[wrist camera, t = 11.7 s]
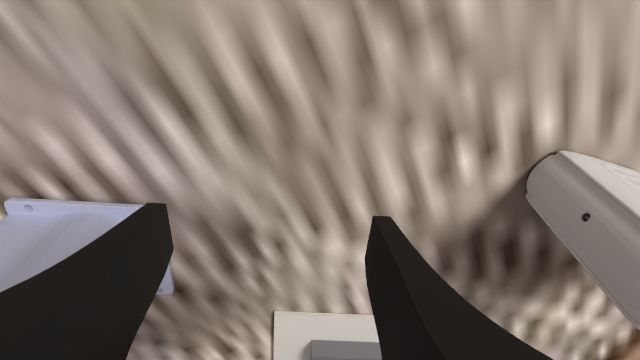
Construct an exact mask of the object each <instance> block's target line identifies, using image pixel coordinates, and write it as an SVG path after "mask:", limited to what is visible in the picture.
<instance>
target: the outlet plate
mask: <svg viewBox="0 0 640 360" xmlns="http://www.w3.org/2000/svg"><path fill="white" fill-rule="evenodd" d="M273 360H382V356H381V349H380V344H379V339H378V334H377V329H376V325H375V320H374V315H362V314H338V313H314V312H290V311H275V313H274V356H273Z"/></svg>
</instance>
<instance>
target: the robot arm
mask: <svg viewBox="0 0 640 360" xmlns="http://www.w3.org/2000/svg"><path fill="white" fill-rule="evenodd" d="M29 205H30V206H31V207H30V206H29ZM4 207H5V209H6V211H7V213H8V215H7V216H5V217H4V218H3V219H2V220H1V221H0V360H126V357H127V355H128V352H129V349H130V347H131V344H132V342H133V340H134V337H135V335H136V333H137V331H138V329H139V327H140V325H141V323H142V321H143V319H144V317H145V315H146V313H147V311H148V309H149V307H150V305H151V303H152V301H153V299H154V297H155V295H156V294H160V295H169V294H172V293H173V290H174V283H173V278H172V272H171V267H170V259H171V256H172V252H173V249H174V248H173V242H172V236H171V230H170V225H169V219H168V213H167V207H166V204H161V203H147V204H145V205H137V204H119V203H101V202H83V201H65V200H47V199H29V198H9V199H8V200H7V201H5V202H4ZM365 268H366V279H367V287H368V292H369V297H370V301H371V306H372V311H373V315H374V320H375V325H376V329H377V334H378V339H379V344H380V349H381V356H382V360H553V359H551V358H550V357H548V356H546V355H545V354H543V353H541V352H539V351H538V350H536V349H534V348H533V347H531V346H529V345H528V344H526V343H524V342H523V341H521V340H520V339H518V338H517V337H515V336H514V335H512V334H511V333H509V332H508V331H506V330H505V329H503V328H502V327H500V326H499V325H497V324H496V323H495V322H493V321H492V320H490V319H489V318H488V317H486V316H485V315H484V314H483V313H481V312H480V311H479V310H477V309H476V308H475V307H474V306H472V305H471V304H470V303H469V302H467V301H466V300H465V299H464V298H463V297H462V296H460V295H459V294H458V293H457V292H456V291H455V290H454V289H453V288H452V287H450V286H449V285H448V284H447V283H446V282H445V281H444V280H443V279H442V278H441V277H440V276H439V275H438V274H437V273H436V272H435V271H434V270H433V269H432V267H431V266H430V265H429V264H428V263H427V262H426V261H425V260H424V259H423V257H422V256H421V255H420V254H419V253H418V251H417V250H416V249H415V248H414V247H413V245H412V244H411V243H410V242H409V240H408V239H407V238H406V236H405V235H404V234H403V233H402V231H401V230H400V229H399V227H398V226H397V225H396V223H395V222H394V221H393V219H392V218H391V217H388V216H373V219H372V224H371V229H370V234H369V239H368V245H367V250H366V255H365Z"/></svg>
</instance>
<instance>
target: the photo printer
mask: <svg viewBox="0 0 640 360" xmlns="http://www.w3.org/2000/svg"><path fill="white" fill-rule="evenodd" d="M526 189H527V191H528V192H527V194H526V199H527V200H528V202H529V203H530V205H531V206H532V207H533V209H534V210H535V211H536V212H537V213H538V215H539V216H540V217H541V218H542V219H543V221H544V222H545V223H546V224H547V225H548V226H549V228H550V229H551V230H552V231H553V232H554V234H555V235H556V236H557V237H558V239H559V240H560V241H561V242H562V243H563V244H564V246H565V247H566V248H567V249H568V250H569V251H570V253H571V254H572V255H573V256H574V257H575V259H576V260H577V261H578V262H579V263H580V265H581V266H582V267H583V268H584V269H585V270H586V272H587V273H588V274H589V275H590V276H591V278H592V279H593V280H594V281H595V282H596V283H597V285H598V286H599V287H600V288H601V289H602V291H603V292H604V293H605V294H606V295H607V296H608V297H609V299H610V300H611V301H612V302H613V303H614V304H615V306H616V307H617V308H618V309H619V310H620V311H621V313H622V314H623V315H624V316H625V317H626V318H627V319H628V320H629V321H630V322H631V323H632V324H633V325H634V326H635V327H637V328H638V329H640V172H637V171H634V170H631V169H628V168H625V167H622V166H619V165H616V164H613V163H610V162H606V161H603V160H600V159H597V158H594V157H590V156H587V155H583V154H579V153H575V152H568V151H559V152H558V153H557V154H556V155H550V156H548V157H546V158H545V159H543V160H542V161H541V162H540V163H538V164H537V165H536V167H535V168H534V169H533V170H532V172H531V173H530V175H529V177H528V180H527V184H526Z"/></svg>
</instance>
